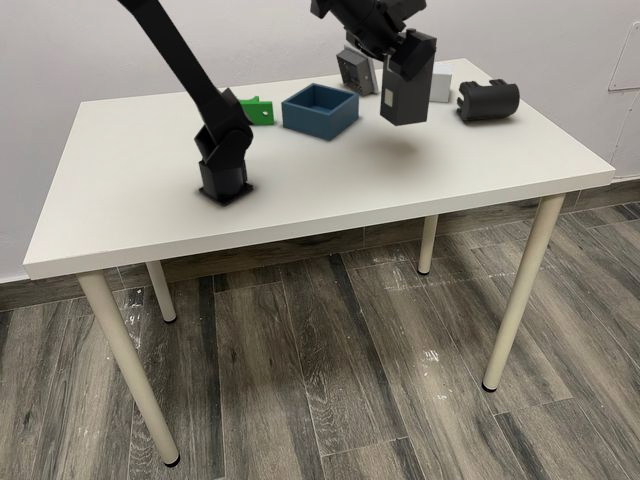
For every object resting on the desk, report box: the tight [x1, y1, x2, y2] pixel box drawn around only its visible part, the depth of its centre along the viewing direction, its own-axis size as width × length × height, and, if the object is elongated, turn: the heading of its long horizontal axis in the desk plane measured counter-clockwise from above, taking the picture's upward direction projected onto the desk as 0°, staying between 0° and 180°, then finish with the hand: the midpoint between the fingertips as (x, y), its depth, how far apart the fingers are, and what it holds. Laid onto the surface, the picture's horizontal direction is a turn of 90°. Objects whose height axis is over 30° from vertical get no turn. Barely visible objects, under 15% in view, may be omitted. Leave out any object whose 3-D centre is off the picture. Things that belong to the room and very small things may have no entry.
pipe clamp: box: [235, 95, 275, 126], centre depth 95 cm, size 11×4×5 cm, turn 89°
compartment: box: [280, 82, 360, 141], centre depth 94 cm, size 11×11×5 cm
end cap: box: [455, 78, 521, 121], centre depth 93 cm, size 10×7×7 cm
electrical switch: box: [335, 42, 380, 97], centre depth 104 cm, size 9×5×9 cm, turn 32°
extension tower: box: [379, 27, 438, 127], centre depth 79 cm, size 6×6×14 cm
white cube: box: [429, 62, 454, 103], centre depth 102 cm, size 6×6×6 cm
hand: (415, 74), depth 79 cm, fingers closed on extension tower, 7 cm apart
